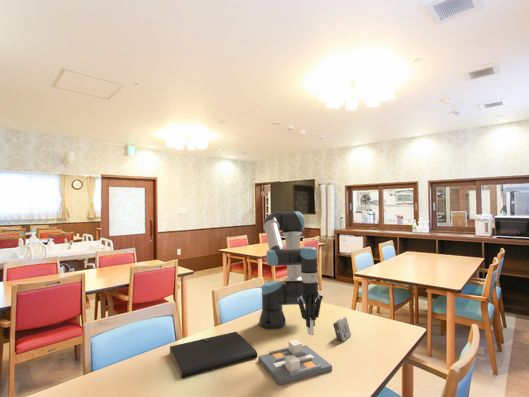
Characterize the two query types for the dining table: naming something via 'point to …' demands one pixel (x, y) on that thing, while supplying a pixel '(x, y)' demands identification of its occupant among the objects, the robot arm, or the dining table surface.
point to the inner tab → (295, 347)
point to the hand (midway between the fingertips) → (310, 334)
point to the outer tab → (292, 363)
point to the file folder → (211, 353)
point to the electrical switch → (342, 329)
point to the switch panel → (308, 364)
